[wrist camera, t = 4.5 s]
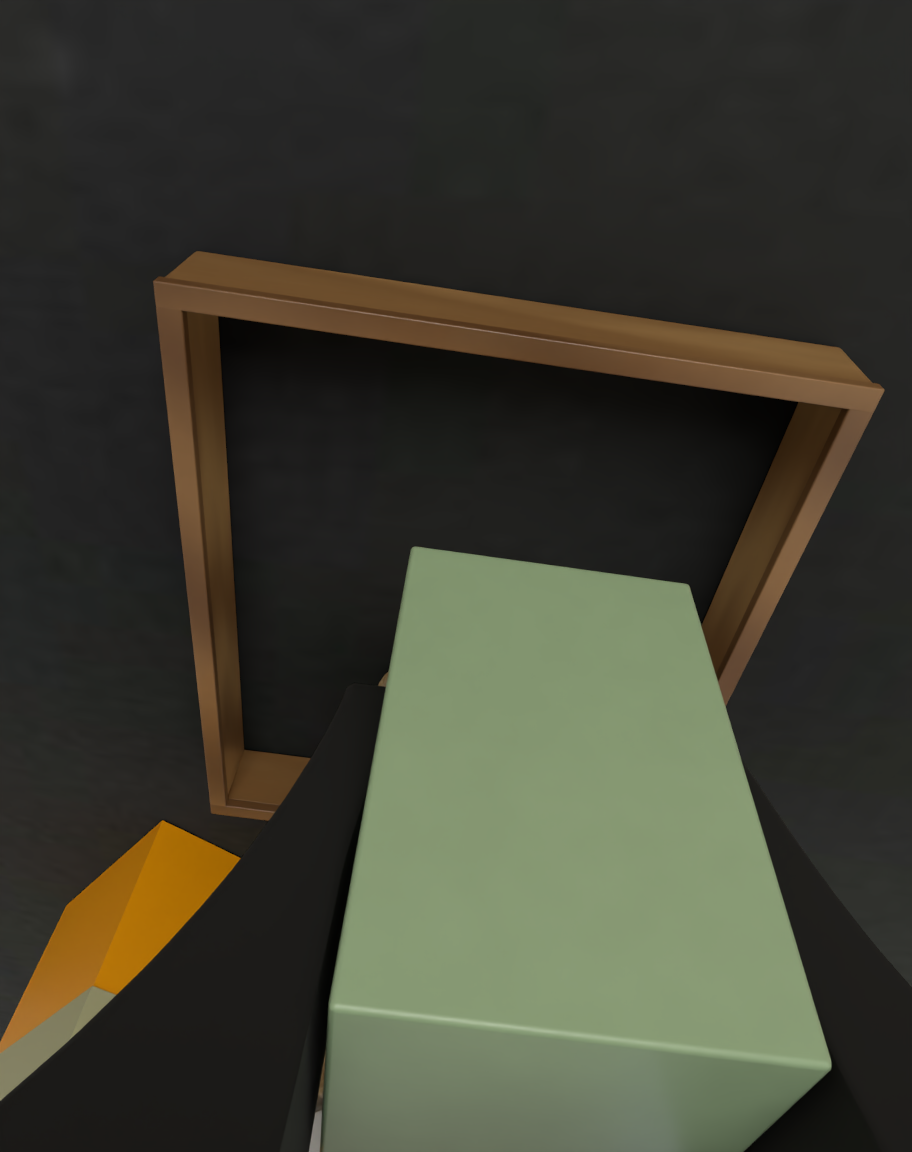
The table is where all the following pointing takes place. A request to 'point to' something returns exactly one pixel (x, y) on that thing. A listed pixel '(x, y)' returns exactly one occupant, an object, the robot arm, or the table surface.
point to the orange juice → (109, 941)
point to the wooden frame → (498, 329)
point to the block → (560, 885)
